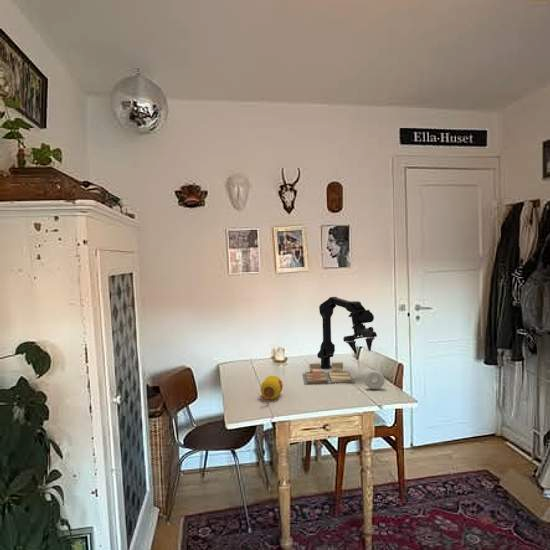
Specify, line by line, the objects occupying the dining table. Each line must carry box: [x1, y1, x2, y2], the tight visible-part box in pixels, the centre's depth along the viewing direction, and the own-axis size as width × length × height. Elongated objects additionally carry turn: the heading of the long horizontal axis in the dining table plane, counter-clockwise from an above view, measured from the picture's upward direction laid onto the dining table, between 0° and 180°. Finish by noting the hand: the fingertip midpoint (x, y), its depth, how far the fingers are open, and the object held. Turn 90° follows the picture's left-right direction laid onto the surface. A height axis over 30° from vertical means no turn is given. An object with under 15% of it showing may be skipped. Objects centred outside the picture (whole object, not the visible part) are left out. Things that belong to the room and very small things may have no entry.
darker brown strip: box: [304, 362, 328, 383], centre depth 231 cm, size 18×11×6 cm, turn 179°
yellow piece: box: [260, 375, 284, 400], centre depth 204 cm, size 10×10×30 cm
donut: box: [364, 369, 386, 390], centre depth 210 cm, size 10×4×10 cm, turn 81°
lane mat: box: [302, 371, 356, 386], centre depth 232 cm, size 20×27×1 cm
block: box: [312, 368, 321, 379], centre depth 228 cm, size 4×4×4 cm
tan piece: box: [327, 361, 352, 382], centre depth 230 cm, size 18×11×6 cm, turn 179°
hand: (362, 352), depth 227 cm, fingers open, 9 cm apart
